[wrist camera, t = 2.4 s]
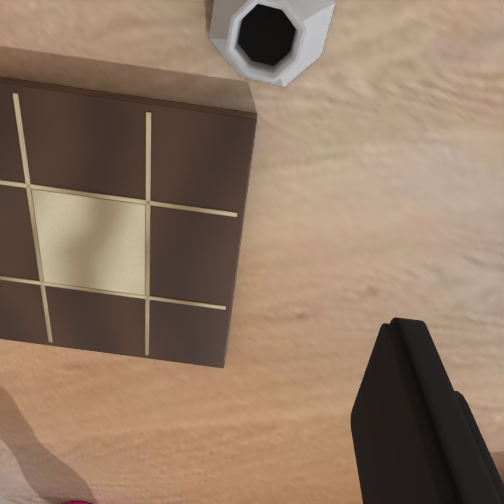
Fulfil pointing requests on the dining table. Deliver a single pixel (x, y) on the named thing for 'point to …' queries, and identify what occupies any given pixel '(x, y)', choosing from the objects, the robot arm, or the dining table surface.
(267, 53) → the flask
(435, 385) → the robot arm
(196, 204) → the board
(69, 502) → the pepper mill
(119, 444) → the dining table surface
